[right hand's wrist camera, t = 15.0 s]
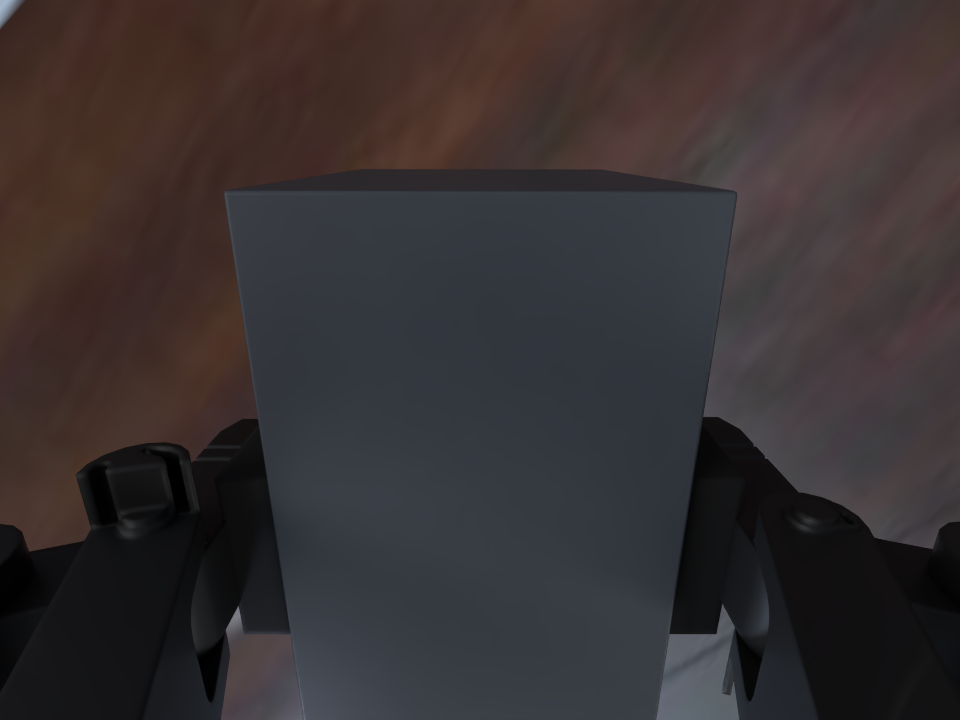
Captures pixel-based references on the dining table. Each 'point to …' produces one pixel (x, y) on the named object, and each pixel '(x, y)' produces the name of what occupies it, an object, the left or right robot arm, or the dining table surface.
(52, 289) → the dining table surface
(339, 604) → the bar
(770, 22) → the dining table surface
